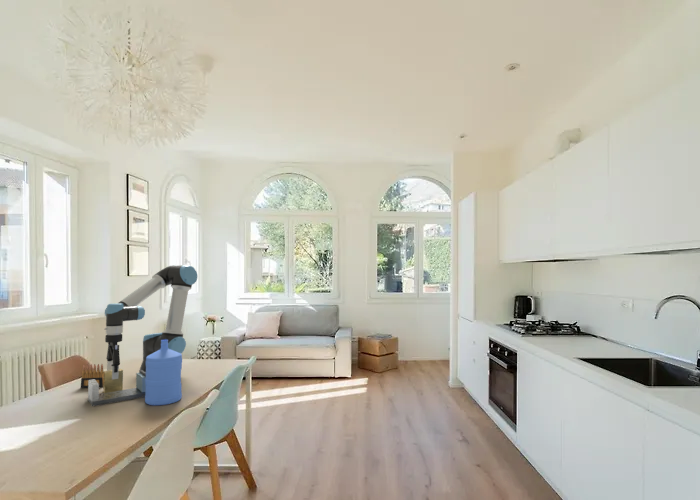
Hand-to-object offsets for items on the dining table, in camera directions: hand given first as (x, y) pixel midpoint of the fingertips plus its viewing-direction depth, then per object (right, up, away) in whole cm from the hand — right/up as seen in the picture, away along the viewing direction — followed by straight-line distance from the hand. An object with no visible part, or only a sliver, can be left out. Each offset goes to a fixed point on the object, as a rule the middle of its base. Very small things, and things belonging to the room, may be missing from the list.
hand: (112, 376), depth 210 cm
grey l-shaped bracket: (+10, -7, -12) cm, 17 cm away
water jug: (+33, -6, -17) cm, 38 cm away
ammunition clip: (-14, -8, +6) cm, 17 cm away
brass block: (0, -7, 0) cm, 7 cm away
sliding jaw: (+18, -4, -6) cm, 20 cm away
